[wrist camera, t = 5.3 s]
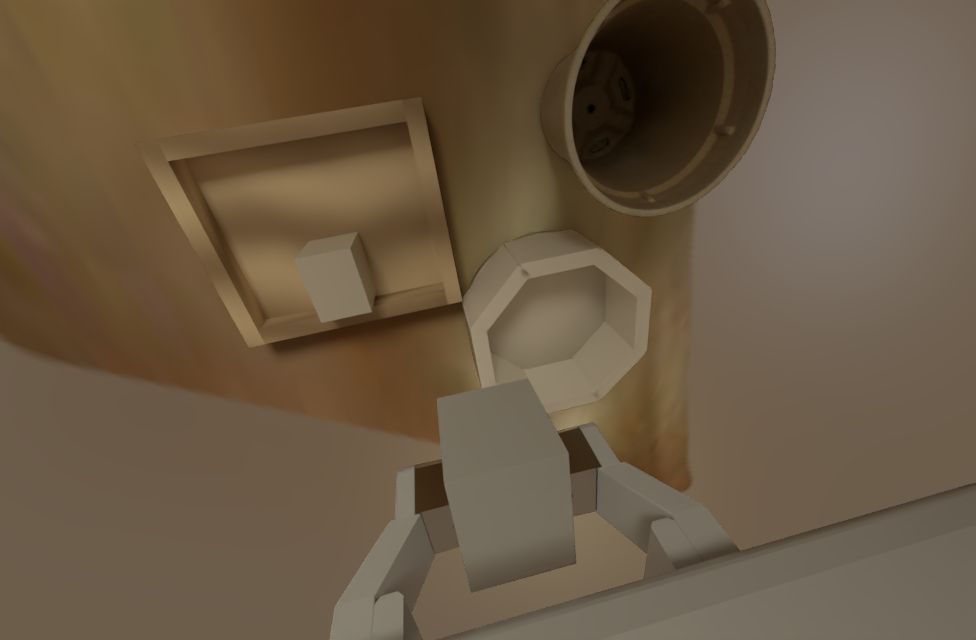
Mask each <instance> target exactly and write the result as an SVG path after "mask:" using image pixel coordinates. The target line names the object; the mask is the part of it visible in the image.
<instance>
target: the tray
mask: <svg viewBox="0 0 976 640" xmlns="http://www.w3.org/2000/svg"><path fill="white" fill-rule="evenodd" d="M134 144H135V145H136V147H137V149H138V151H139V153H140V154H141V156H142V158H143V160H144V162H145V163H146V165H147V167H148V169H149V170H150V172H151V174H152V176H153V178H154V179H155V181H156V183H157V185H158V186H159V188H160V190H161V192H162V194H163V195H164V197H165V199H166V201H167V202H168V204H169V206H170V208H171V210H172V211H173V213H174V215H175V217H176V218H177V220H178V222H179V224H180V226H181V227H182V229H183V231H184V233H185V235H186V236H187V238H188V240H189V242H190V243H191V245H192V247H193V249H194V251H195V252H196V254H197V256H198V258H199V259H200V261H201V263H202V265H203V267H204V268H205V270H206V272H207V274H208V275H209V277H210V279H211V281H212V283H213V284H214V286H215V288H216V290H217V292H218V293H219V295H220V297H221V299H222V300H223V302H224V304H225V306H226V308H227V309H228V311H229V313H230V315H231V316H232V318H233V320H234V322H235V324H236V325H237V327H238V329H239V331H240V332H241V334H242V336H243V338H244V340H245V341H246V343H247V345H248V347H254V346H258V345H263V344H268V343H272V342H277V341H282V340H286V339H291V338H295V337H300V336H305V335H309V334H314V333H319V332H323V331H328V330H333V329H337V328H342V327H346V326H351V325H356V324H360V323H365V322H370V321H374V320H379V319H384V318H388V317H393V316H397V315H402V314H407V313H411V312H416V311H421V310H425V309H430V308H435V307H439V306H444V305H448V304H453V303H458V302H462V297H461V292H460V287H459V282H458V277H457V272H456V267H455V262H454V257H453V252H452V247H451V242H450V237H449V233H448V228H447V223H446V218H445V213H444V208H443V203H442V198H441V193H440V188H439V183H438V178H437V173H436V168H435V163H434V158H433V153H432V148H431V143H430V138H429V133H428V128H427V123H426V118H425V113H424V108H423V103H422V98H421V97H415V98H409V99H402V100H396V101H390V102H384V103H378V104H371V105H365V106H359V107H353V108H346V109H340V110H334V111H328V112H322V113H315V114H309V115H303V116H297V117H291V118H284V119H278V120H272V121H266V122H260V123H253V124H247V125H241V126H235V127H228V128H222V129H216V130H210V131H204V132H197V133H191V134H185V135H179V136H173V137H166V138H160V139H154V140H148V141H142V142H135V143H134ZM354 232H358V234H359V237H360V240H361V243H362V246H363V249H364V252H365V255H366V258H367V262H368V265H369V268H370V271H371V274H372V277H373V280H374V283H375V286H376V294H375V299H374V304H373V310H372V312H370V313H365V314H361V315H356V316H351V317H347V318H342V319H337V320H332V321H328V322H323V323H321V321H320V319H319V317H318V314H317V312H316V310H315V307H314V305H313V303H312V300H311V298H310V296H309V293H308V291H307V289H306V286H305V284H304V282H303V279H302V277H301V274H300V272H299V270H298V267H297V265H296V263H295V260H294V259H295V257H296V256H297V255H298V254H299V253H300V252H301V250H302V249H303V248H304V247H305V246H306V244H307V243H308V242H309V241H313V240H318V239H323V238H328V237H334V236H339V235H344V234H349V233H354Z"/></svg>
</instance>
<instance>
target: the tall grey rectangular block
mask: <svg viewBox="0 0 976 640" xmlns="http://www.w3.org/2000/svg"><path fill="white" fill-rule="evenodd" d="M437 408H438V420H439V432H440V443H441V455H442V467H443V478H444V486H445V490H446V494H447V498H448V502H449V506H450V510H451V514H452V518H453V522H454V526H455V530H456V534H457V538H458V542H459V546H460V550H461V554H462V557H463V562H464V566H465V570H466V574H467V578H468V582H469V586H470V590H471V592H472V593H473V592H476V591H479V590H483V589H487V588H490V587H494V586H497V585H501V584H504V583H508V582H511V581H515V580H519V579H522V578H526V577H529V576H533V575H536V574H540V573H544V572H547V571H551V570H554V569H557V568H561V567H565V566H568V565H572V564H575V563H576V554H575V539H574V524H573V510H572V495H571V481H570V466H569V453H568V451H567V449H566V447H565V445H564V444H563V442H562V440H561V438H560V436H559V434H558V433H557V431H556V429H555V427H554V425H553V423H552V421H551V420H550V418H549V416H548V414H547V412H546V410H545V409H544V407H543V405H542V403H541V401H540V399H539V398H538V396H537V394H536V392H535V390H534V388H533V386H532V385H531V383H530V381H529V379H528V378H527V379H523V380H518V381H514V382H509V383H505V384H500V385H496V386H491V387H486V388H482V389H477V390H473V391H468V392H464V393H459V394H455V395H450V396H446V397H441V398H437Z"/></svg>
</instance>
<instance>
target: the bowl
mask: <svg viewBox="0 0 976 640" xmlns="http://www.w3.org/2000/svg"><path fill="white" fill-rule="evenodd" d="M651 295H652V290H651V288H650V287H649V286H648V285H647V284H645V283H644V282H643V281H642V280H641V279H639V278H638V277H637V276H636V275H634V274H633V273H632V272H631V271H629V270H628V269H627V268H626V267H624V266H623V265H622V264H621V263H620V262H618V261H617V260H616V259H615V258H613V257H612V256H611V255H610V254H608V253H607V252H606V251H605V250H603V249H602V248H601V247H599V246H598V245H596V244H595V243H593V242H592V241H590V240H588V239H587V238H585V237H584V236H582V235H581V234H579V233H578V232H576V231H575V230H572V229H568V230H564V231H559V232H557V231H543V232H536V233H531V234H528V235H524V236H521V237H519V238H517V239H514V240H512V241H509V242H504V245H503V244H501V246H500V247H499V248H498V250H497V251H495V252H494V253H493V254H492V255H491V256H490V257H489V258H488V259H487V260H486V261H485V262H484V263H483V264H482V266H481V267H480V268H479V270H478V271H477V273H476V274H475V276H474V278H473V280H472V282H471V284H470V286H469V289H468V291H467V292H466V294H465V295H464V296H463V298H462V306H463V311H464V316H465V322H466V327H467V331H468V336H469V341H470V346H471V351H472V355H473V359H474V363H475V366H476V370H477V374H478V377H479V381H480V385H481V388H486V387H491V386H496V385H500V384H505V383H509V382H514V381H518V380H523V379H527V378H528V379H529V381H530V383H531V385H532V386H533V388H534V390H535V392H536V394H537V396H538V398H539V399H540V401H541V403H542V405H543V407H544V409H545V410H546V412H547V414H549V413H553V412H557V411H561V410H565V409H569V408H573V407H577V406H581V405H585V404H589V403H593V402H597V401H599V399H600V400H601V399H602V398H603V397H604V396H605V395H606V394H607V393H608V392H609V391H610V390H611V389H612V388H613V387H614V385H615V384H616V383H617V382H618V381H619V380H620V379H621V378H622V377H623V376H624V375H625V374H626V373H627V372H628V371H629V370H630V369H631V368H632V367H633V366H634V365H635V364H636V363H637V362H638V360H639V359H640V358H641V357H642V356H643V355H644V354H645V353H646V352H645V351H647V343H648V331H649V319H650V307H651Z"/></svg>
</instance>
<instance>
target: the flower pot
mask: <svg viewBox="0 0 976 640" xmlns="http://www.w3.org/2000/svg"><path fill="white" fill-rule="evenodd" d="M775 52H776V47H775V37H774V28H773V24H772V20H771V15H770V11H769V8H768V6H767V3H766V0H607V2H606V3H605V4H604V5H603V6H602V8H601V9H600V10H599V12H598V13H597V14H596V16H595V17H594V19H593V20H592V22H591V23H590V25H589V26H588V28H587V30H586V31H585V33H584V35H583V37H582V39H581V41H580V43H579V45H578V47H577V49H575V50H574V51H573V52H572V53H571V54H570V55H568V56H567V57H566V58H565V59H564V60H562V61H561V62H560V64H559V65H558V66H557V67H556V68H555V70H554V71H553V73H552V74H551V76H550V78H549V80H548V83H547V85H546V88H545V91H544V94H543V98H542V103H541V122H542V127H543V131H544V134H545V137H546V139H547V141H548V143H549V144H550V146H551V147H552V149H553V150H554V151H555V152H556V153H557V154H558V155H559V156H561V157H562V158H563V159H565V160H567V161H568V162H569V163H571V165H572V167H573V169H574V171H575V173H576V175H577V177H578V179H579V180H580V182H581V184H582V185H583V186H584V187H585V189H586V190H587V191H588V192H589V193H590V194H591V195H592V196H593V197H594V198H595V199H596V200H597V201H599V202H600V203H602V204H603V205H604V206H606V207H608V208H610V209H612V210H614V211H616V212H619V213H622V214H625V215H630V216H636V217H654V216H660V215H665V214H668V213H672V212H675V211H678V210H680V209H682V208H684V207H687V206H689V205H690V204H692V203H694V202H696V201H697V200H699V199H700V198H702V197H703V196H704V195H706V194H707V193H709V192H710V191H711V190H712V189H713V188H715V187H716V186H717V185H718V184H719V183H720V182H721V181H722V180H723V179H724V178H725V177H726V176H727V174H728V173H729V172H730V171H731V170H732V169H733V168H734V167H735V166H736V164H737V163H738V162H739V161H740V160H741V158H742V156H743V155H744V154H745V153H746V151H747V149H748V148H749V146H750V144H751V142H752V140H753V139H754V137H755V135H756V133H757V131H758V130H759V127H760V125H761V122H762V119H763V117H764V114H765V112H766V108H767V105H768V102H769V99H770V96H771V91H772V87H773V79H774V72H775V66H776V64H775V57H776V53H775ZM583 59H584V60H585V64H584V65H582V66H581V63H582V60H583ZM621 77H622V79H623V81H624V82H625V84H626V87H627V90H628V99H627V100H625V99H623V98H622V90H621V87H620V84H619V79H620V78H621ZM590 104H592V105H593V106H594V111H593V112H592V113H591V112H589V110H588V107H589V105H590ZM605 138H607V140H608V142H609V143H608V145H607V146H606V147H605V148H604V149H601V150H598V151H596V152H592V146H594V145H595V144H597V143H599V142H601V141H603V140H605Z"/></svg>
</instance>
